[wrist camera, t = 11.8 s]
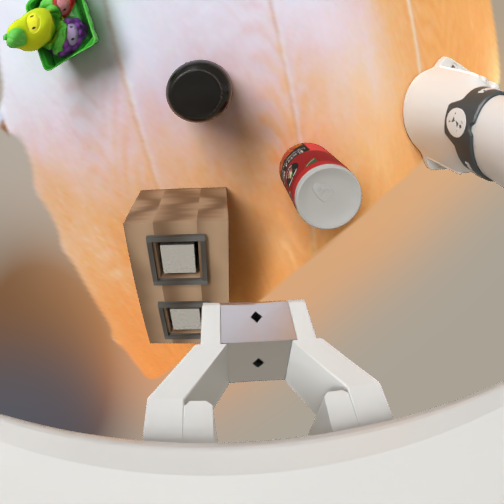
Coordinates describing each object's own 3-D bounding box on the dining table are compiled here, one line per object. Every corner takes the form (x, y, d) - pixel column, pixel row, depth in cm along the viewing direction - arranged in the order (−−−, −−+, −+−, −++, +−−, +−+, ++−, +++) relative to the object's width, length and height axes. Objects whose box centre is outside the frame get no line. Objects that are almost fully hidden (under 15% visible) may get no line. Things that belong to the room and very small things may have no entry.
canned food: (291, 132, 40) (313, 154, 31) (341, 154, 42) (374, 182, 33) (269, 182, 44) (283, 217, 35) (318, 200, 46) (343, 238, 37)
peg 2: (201, 269, 49) (199, 308, 42) (202, 289, 52) (201, 329, 44) (175, 269, 49) (169, 309, 42) (178, 289, 51) (173, 329, 44)
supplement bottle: (204, 50, 33) (199, 43, 23) (242, 87, 36) (250, 94, 26) (165, 87, 35) (144, 96, 25) (202, 123, 38) (195, 144, 28)
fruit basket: (110, 45, 31) (75, 40, 21) (55, 75, 32) (10, 83, 22) (90, -21, 25) (52, -41, 15) (36, 11, 25) (-11, 5, 16)
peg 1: (197, 210, 44) (193, 244, 37) (199, 235, 46) (195, 272, 39) (169, 211, 44) (159, 245, 36) (171, 236, 46) (163, 273, 38)
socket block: (226, 187, 44) (228, 223, 35) (227, 298, 54) (230, 345, 46) (141, 190, 42) (121, 226, 34) (158, 299, 53) (149, 346, 44)
